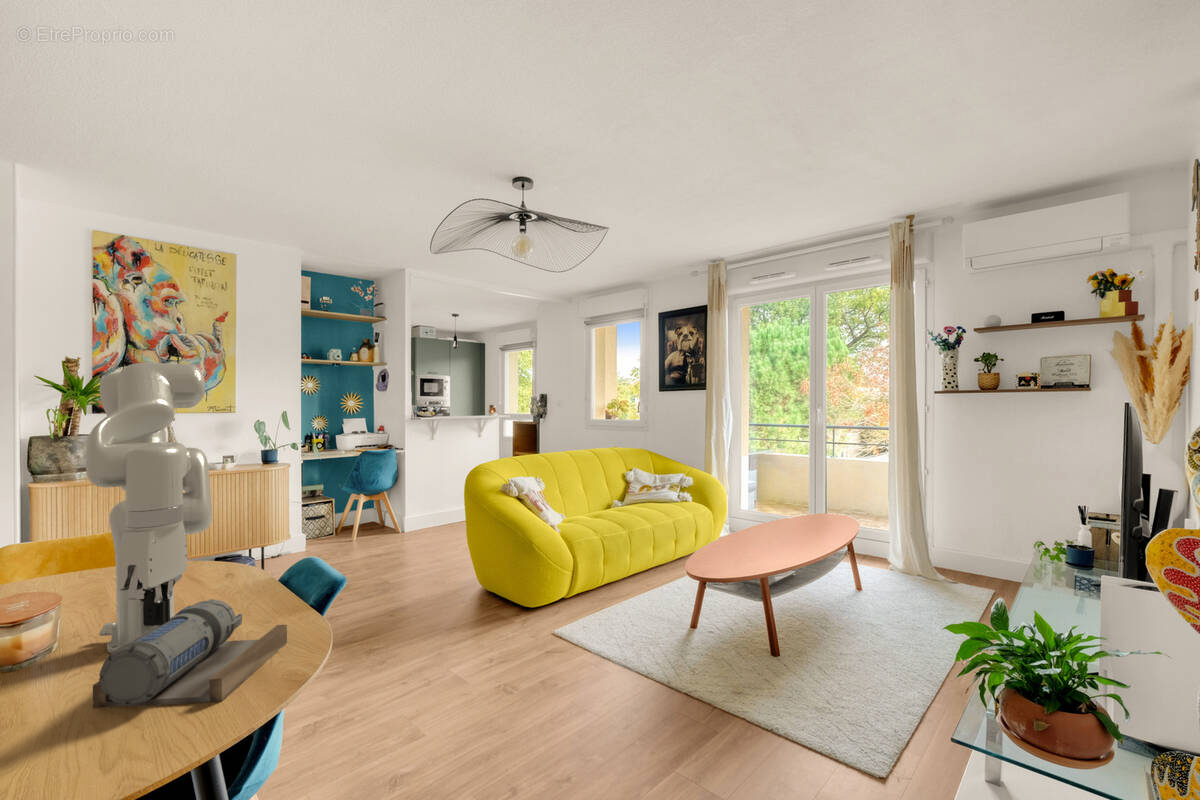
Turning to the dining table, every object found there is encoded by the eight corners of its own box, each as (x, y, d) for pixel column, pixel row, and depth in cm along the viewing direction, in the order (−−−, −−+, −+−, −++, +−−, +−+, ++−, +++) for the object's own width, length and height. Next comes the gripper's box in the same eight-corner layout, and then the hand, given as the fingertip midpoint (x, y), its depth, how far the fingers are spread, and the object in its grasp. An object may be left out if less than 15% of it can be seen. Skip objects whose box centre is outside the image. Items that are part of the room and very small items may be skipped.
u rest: (93, 708, 90) (92, 685, 90) (184, 647, 112) (184, 628, 112) (222, 701, 92) (221, 678, 92) (287, 643, 114) (286, 624, 114)
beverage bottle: (76, 709, 87) (179, 640, 112) (162, 708, 89) (245, 640, 114) (79, 648, 87) (182, 592, 112) (165, 648, 89) (248, 593, 114)
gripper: (164, 509, 98) (166, 607, 98) (93, 529, 83) (95, 645, 83) (207, 508, 99) (208, 605, 99) (144, 527, 84) (146, 642, 84)
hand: (156, 623), depth 91 cm, fingers closed
